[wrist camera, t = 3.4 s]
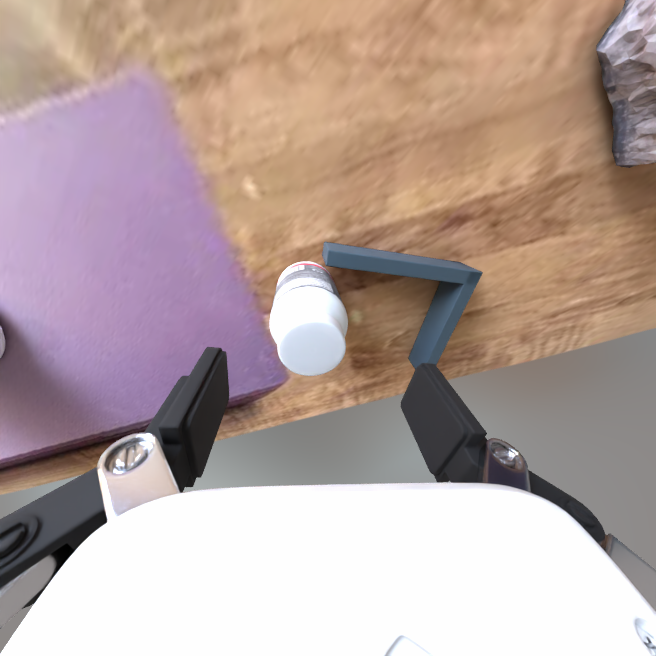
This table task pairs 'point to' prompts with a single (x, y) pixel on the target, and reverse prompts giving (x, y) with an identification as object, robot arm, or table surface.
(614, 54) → the geode
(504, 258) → the table surface
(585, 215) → the table surface
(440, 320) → the corner
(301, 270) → the pill bottle
